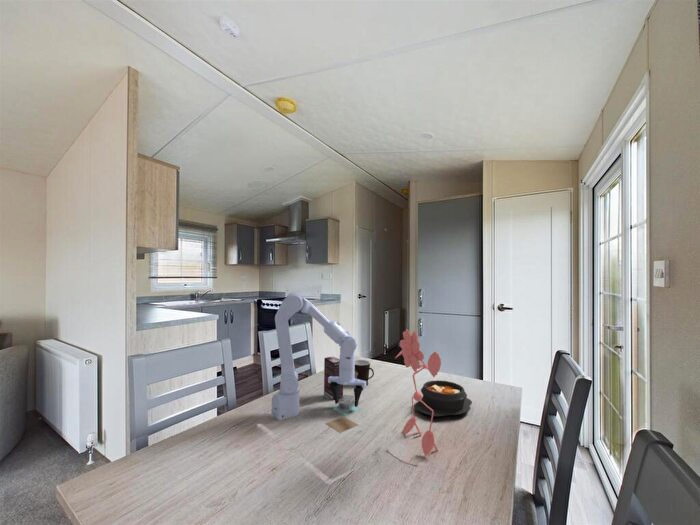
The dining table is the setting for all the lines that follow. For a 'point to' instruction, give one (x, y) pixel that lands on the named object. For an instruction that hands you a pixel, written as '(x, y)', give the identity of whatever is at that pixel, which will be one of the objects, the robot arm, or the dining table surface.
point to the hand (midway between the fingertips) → (346, 404)
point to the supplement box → (331, 370)
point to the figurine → (413, 357)
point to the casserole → (443, 399)
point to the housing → (346, 403)
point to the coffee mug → (362, 370)
